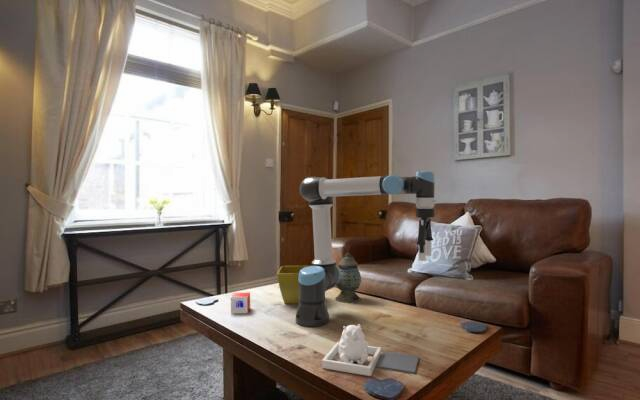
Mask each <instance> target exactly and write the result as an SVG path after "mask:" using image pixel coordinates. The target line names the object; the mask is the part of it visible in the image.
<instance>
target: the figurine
mask: <svg viewBox="0 0 640 400" xmlns="http://www.w3.org/2000/svg"><path fill="white" fill-rule="evenodd" d="M342 328H343V330H342V333H341V336H340V339H339V341H338V342H339V350H338V357H339V358H340V359H339V360H341V361H340V362H345V363H352V364H354V363H356V364H358V365H364V364H365V362H366V361H367V359H368V358H369V354H367V349H366V347H368V346H369V343H368V341H366V339H365V333H364V332H363V331H362V330H363V329H362V327H361V324H360V323H358V324H357V325H355V324H349V325H346V326H345V325H343V326H342Z"/></svg>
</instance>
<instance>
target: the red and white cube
mask: <svg viewBox="0 0 640 400" xmlns="http://www.w3.org/2000/svg"><path fill="white" fill-rule="evenodd" d="M250 310H251V292H233V294H232V295H231V296H230V314H248V313H249V311H250Z"/></svg>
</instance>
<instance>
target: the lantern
mask: <svg viewBox="0 0 640 400" xmlns="http://www.w3.org/2000/svg"><path fill="white" fill-rule="evenodd" d="M337 266H338V269H339V272H340V279H339V281H338V283H337V284H336V285H335V286H336V288H337V289H338V290H339V291H340V293H339V294H338V295H337V296H336V297H335V299H334V300H335V301H336V302H338V303H344V304H351V303H357V302H358V303H359V301H361V297H360V296H359V295H358V294H357V293H356V291H357V290H358V289H359V288H360V286H361V284H362V276H361V272H360V270H359V268H358V266H359V263H358V262H357V261H356V260H355V257H354V256H353V255H351V254H350V252H345V254H344V255H343V256H342V258H341V260H340V261H339V263H338V264H337Z"/></svg>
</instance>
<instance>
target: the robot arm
mask: <svg viewBox="0 0 640 400" xmlns="http://www.w3.org/2000/svg"><path fill="white" fill-rule="evenodd" d="M299 194H300V195H301V197H302V198H303V199H304V200H305V201H306V202H308V207H310V208H311V211H312V231H313V233H312V234H313V249H314V259H313V260H312V261H311V265H308V266H309V267H305V268H303V269H301V270H300V272H299V278H298V280H299V303H298V306H297V311H296V313H295V323H296V324H297V325H300V326H302V327H303V326H304V327H319V326H324V325H327V324H328V323H329V322H330V314H329V311H328V307H327V305H326V292H327V291H329V290H331V289H333V288H335V286H336V284H337V283H338V281H339V279H340V272H339V267H337V261H336V260H335V259H334V257H333V244H332V243H333V241H332V221H331V207H333V205H334V198H335V197H354V196H356V197H357V196H358V197H359V196H374V195H375V196H378V195H382V196H383V195H415V207H416V208H415V217H416V218H420V220H418V232H417V233H418V234H417V235H418V236H417V242H416V245H418V261H420V262H426V261H427V260H426V259H427V257H428V256H429V257H431V256H432V241H433V240H434V238H433V236H432V234H433V233H432V219H431V218H435V203H436V202H437V201H436V200H435V174H434V172H433V171H430V170H425V171H416V172H415V175H414V176H400V175H396V174H391V175H390V174H389V175H382V176H379V175H378V176H363V177H362V176H361V177H347V178H331V179H329V178H327V177H324V176H323V177H320V176H307V177H306V178H304V179H303V180H302V181H301V183H300V185H299Z"/></svg>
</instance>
